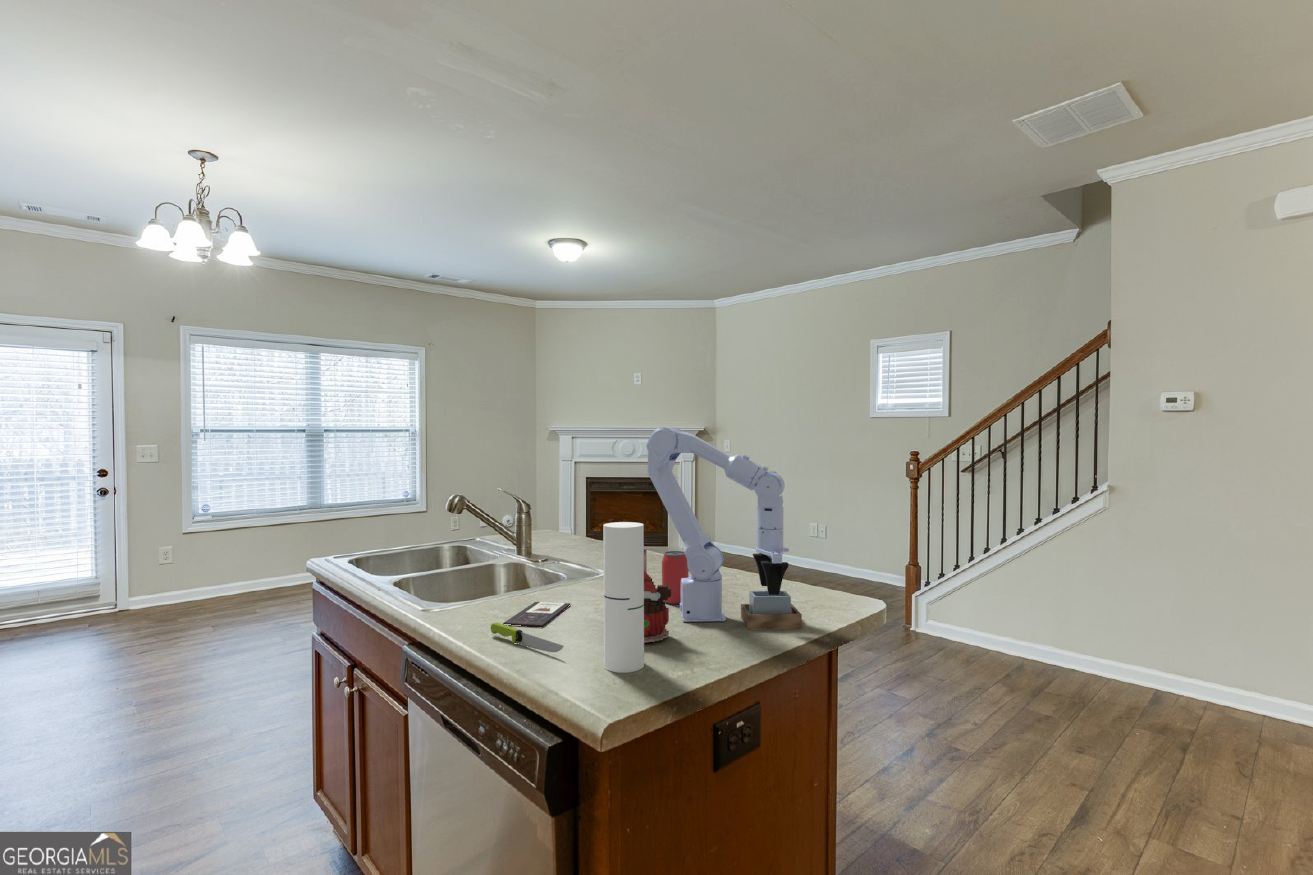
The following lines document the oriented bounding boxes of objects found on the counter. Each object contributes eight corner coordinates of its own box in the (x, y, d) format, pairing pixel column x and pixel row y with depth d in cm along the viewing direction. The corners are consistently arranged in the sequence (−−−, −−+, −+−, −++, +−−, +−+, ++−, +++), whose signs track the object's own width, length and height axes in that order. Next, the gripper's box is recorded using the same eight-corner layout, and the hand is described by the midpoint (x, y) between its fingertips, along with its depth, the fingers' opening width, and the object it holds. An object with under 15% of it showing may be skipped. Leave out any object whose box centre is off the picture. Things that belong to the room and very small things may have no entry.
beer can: (689, 598, 159) (689, 550, 159) (687, 605, 152) (687, 555, 152) (663, 597, 159) (663, 550, 159) (660, 604, 153) (660, 555, 153)
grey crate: (753, 625, 135) (753, 597, 135) (749, 617, 140) (749, 590, 140) (790, 624, 135) (790, 596, 135) (785, 617, 140) (785, 590, 140)
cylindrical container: (603, 658, 115) (603, 522, 115) (642, 657, 116) (642, 521, 116) (603, 673, 108) (603, 527, 108) (645, 671, 109) (644, 527, 109)
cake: (674, 632, 131) (674, 545, 131) (667, 647, 122) (667, 554, 122) (624, 629, 133) (623, 544, 133) (613, 644, 124) (613, 552, 124)
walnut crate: (748, 631, 133) (747, 615, 133) (740, 619, 142) (740, 603, 142) (801, 631, 133) (801, 614, 133) (791, 618, 142) (791, 603, 142)
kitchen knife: (566, 660, 115) (566, 644, 115) (561, 662, 115) (561, 646, 115) (495, 636, 130) (495, 621, 130) (490, 637, 129) (490, 622, 129)
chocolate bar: (503, 623, 136) (535, 601, 154) (503, 627, 136) (535, 605, 154) (542, 625, 135) (570, 603, 152) (542, 629, 135) (570, 607, 152)
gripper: (796, 532, 130) (796, 598, 130) (780, 523, 145) (780, 582, 145) (762, 532, 130) (762, 598, 130) (749, 523, 144) (749, 582, 144)
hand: (769, 590), depth 137 cm, fingers open, 7 cm apart
